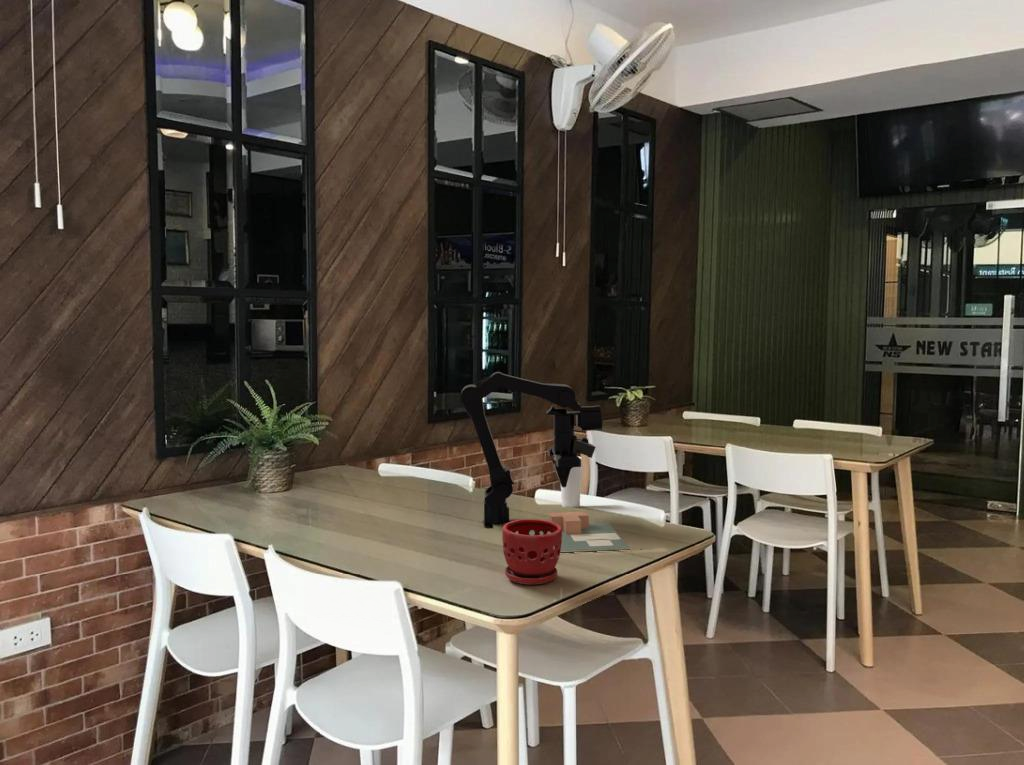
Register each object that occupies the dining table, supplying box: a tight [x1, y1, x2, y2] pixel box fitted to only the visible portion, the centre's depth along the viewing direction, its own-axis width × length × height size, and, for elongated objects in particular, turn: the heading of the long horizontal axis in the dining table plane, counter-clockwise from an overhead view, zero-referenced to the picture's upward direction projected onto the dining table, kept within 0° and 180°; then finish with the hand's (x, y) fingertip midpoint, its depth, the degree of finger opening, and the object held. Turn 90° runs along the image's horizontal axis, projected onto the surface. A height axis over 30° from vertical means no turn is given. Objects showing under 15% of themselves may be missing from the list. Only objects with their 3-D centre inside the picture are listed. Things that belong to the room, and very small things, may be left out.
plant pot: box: [501, 518, 562, 586], centre depth 187 cm, size 13×13×12 cm
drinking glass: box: [560, 455, 583, 508], centre depth 251 cm, size 7×7×15 cm
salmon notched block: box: [548, 511, 590, 534], centre depth 224 cm, size 10×9×4 cm
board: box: [529, 522, 631, 554], centre depth 218 cm, size 23×24×1 cm
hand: (563, 487), depth 233 cm, fingers closed
